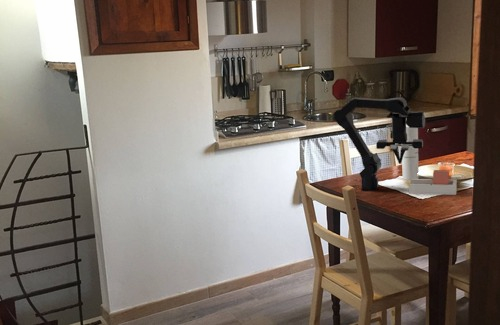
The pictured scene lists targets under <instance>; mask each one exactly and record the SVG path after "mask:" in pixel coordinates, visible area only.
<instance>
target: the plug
mask: <svg viewBox="0 0 500 325" xmlns="http://www.w3.org/2000/svg"><path fill="white" fill-rule="evenodd" d="M432 179H433V184H441V185H449V180H450V170H449V169H433V173H432Z"/></svg>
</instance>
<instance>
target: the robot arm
mask: <svg viewBox="0 0 500 325" xmlns="http://www.w3.org/2000/svg"><path fill="white" fill-rule="evenodd" d="M357 108H363V109H375V110H376V109H378V110H379V109H380V110H385V111H387V112H389V113H388V115H387V116H386V119H391V130H390V139H391V140H392V141H388V140H387V139H379V140H377V142H376V143H375V144H376V149H379V150H382V149H383V150H384V149H385V148H386V147H390V148H389V150H390V151H392V152H393V154H394V156H395V157H396V160H397V163H398V164H399V165H401V164H402V159H403V155H404V153H405V151H406V150H408V149H409V146H412V147H413V148H418V149H423V147H424V141H423V139H422V138H421V139H419V138H418V139H413V142H407V133H406V124H407V126H409V127H410V128H418V129H424V128H425V126H426V118H425V113H424V111H421V110H420V111H413V110H412V109H411V108H410V107H409V105H408V103H407V100H406V99H405V98H404V97H393V98H386V99H383V98H380V99H379V98H364V97H358V96H357V97H354V98H352V99H350V100H349V102H347V103H346V104H345V105H344V106H342V107H341V108H339V109H336V111H335V112H334V113H333V116H332V117H333V120H334V121H335V122H336V124H337V125H339V127H340V128H342V129H343V130H344V131H345V132H346V134H347V136H348V137H349V139H350V141H351V142H352V144H353V146H354V148H355V149H356V151H357V152H358V154H359V155H360V157H361V163H362V166H363V168H364V169H362V171H360V172H359V175H360V178H361V188H360V191H371V192H372V191H376V190H378V188H379V177H378V176H377V175H378V174H377V173H378V171H379V170H380V169H381V167H382V159H381V158H380V157H379V154H378V153H377V152H375V153H373V152H372V151H371V150H370V149H369V147H368V145H367V144H366V142H365V140H364V138H363V137H362V135H361V134H360V132H359V130H358V129H357V127H356V125H355V123H354V119H353V115H352V113H353V112H355V110H356V109H357ZM399 147H401V148H399Z"/></svg>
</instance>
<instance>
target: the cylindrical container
mask: <svg viewBox="0 0 500 325" xmlns="http://www.w3.org/2000/svg"><path fill="white" fill-rule="evenodd" d="M406 133H407V142H413V139H419V128H410V127H409V126H407V123H406ZM401 164H402V165H401V166H402V167H401V168H402V170H401V171H402V180H404V181H411V179H420V178H419V177H420V176H417V173H418V172H419V148H413V147H412V146H409V149H408V150H406V151H405V153H404V155H403V159H402V162H401Z"/></svg>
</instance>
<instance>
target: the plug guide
mask: <svg viewBox="0 0 500 325" xmlns="http://www.w3.org/2000/svg"><path fill="white" fill-rule="evenodd" d="M457 184H458V182H457V179H449V185H441V184H433V178H418V179H411V180H410V183H408V194H412V195H413V194H416V195H417V194H418V195H445V196H446V195H447V196H449V195H451V196H455V195H457V187H458V186H457Z"/></svg>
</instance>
